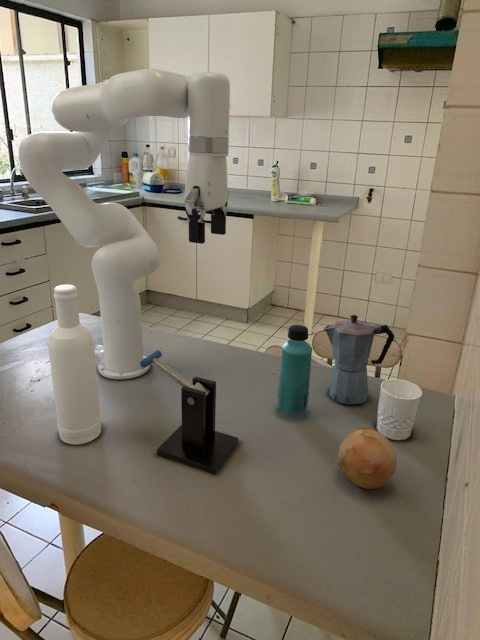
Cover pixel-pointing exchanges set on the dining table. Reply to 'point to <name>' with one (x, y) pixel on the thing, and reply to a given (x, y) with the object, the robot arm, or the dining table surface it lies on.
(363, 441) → the onion
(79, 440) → the bottle
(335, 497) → the dining table surface
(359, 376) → the moka pot
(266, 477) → the dining table surface
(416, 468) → the dining table surface
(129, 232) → the robot arm
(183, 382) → the lever
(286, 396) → the beverage bottle
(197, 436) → the bracket
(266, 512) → the dining table surface
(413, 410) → the white cup
